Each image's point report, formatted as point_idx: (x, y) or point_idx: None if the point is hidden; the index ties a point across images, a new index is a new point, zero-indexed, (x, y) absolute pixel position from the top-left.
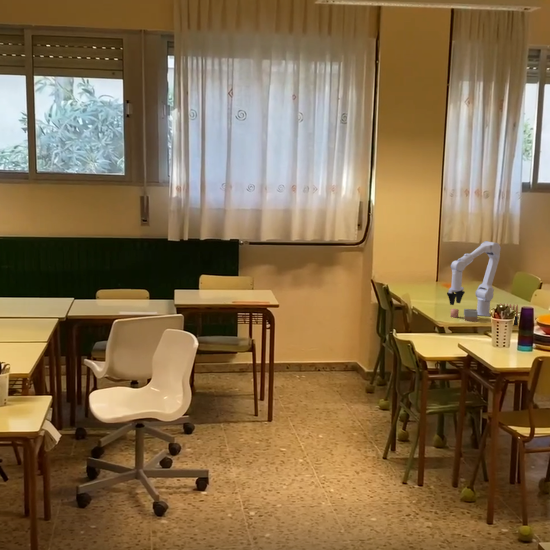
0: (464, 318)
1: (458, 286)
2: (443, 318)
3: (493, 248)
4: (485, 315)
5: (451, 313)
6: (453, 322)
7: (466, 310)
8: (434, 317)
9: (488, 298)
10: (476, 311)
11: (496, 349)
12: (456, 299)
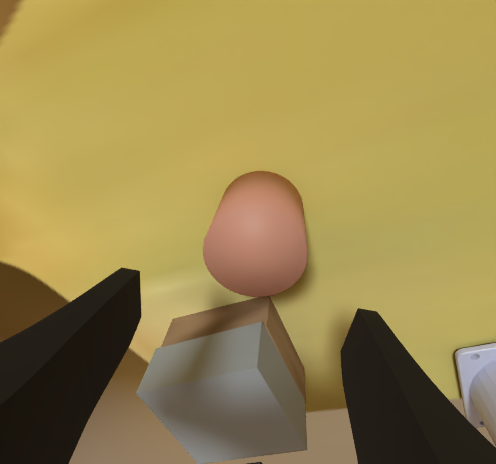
0: (225, 310)
1: None
2: (104, 140)
3: None
4: (463, 403)
5: (219, 206)
6: (43, 268)
7: (186, 396)
8: (57, 21)
9: None
10: (212, 457)
11: None
12: (376, 356)
